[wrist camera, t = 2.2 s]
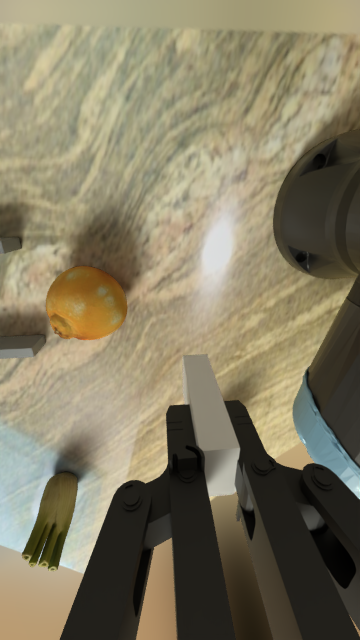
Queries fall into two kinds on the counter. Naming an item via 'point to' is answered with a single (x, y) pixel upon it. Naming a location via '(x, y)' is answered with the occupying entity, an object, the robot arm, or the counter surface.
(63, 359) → the counter surface
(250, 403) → the counter surface
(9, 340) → the flagpole corner frame
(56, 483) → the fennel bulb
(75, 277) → the fruit
